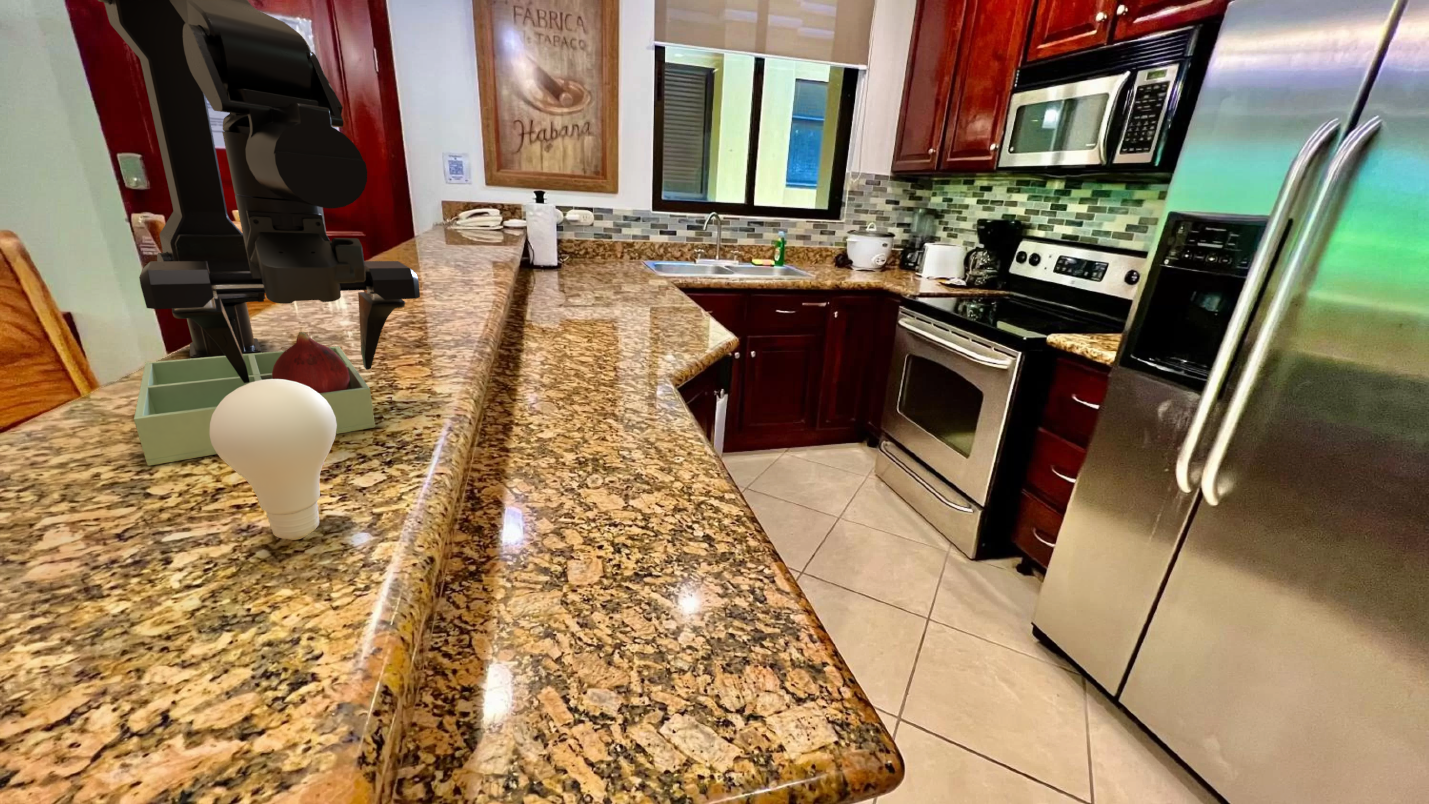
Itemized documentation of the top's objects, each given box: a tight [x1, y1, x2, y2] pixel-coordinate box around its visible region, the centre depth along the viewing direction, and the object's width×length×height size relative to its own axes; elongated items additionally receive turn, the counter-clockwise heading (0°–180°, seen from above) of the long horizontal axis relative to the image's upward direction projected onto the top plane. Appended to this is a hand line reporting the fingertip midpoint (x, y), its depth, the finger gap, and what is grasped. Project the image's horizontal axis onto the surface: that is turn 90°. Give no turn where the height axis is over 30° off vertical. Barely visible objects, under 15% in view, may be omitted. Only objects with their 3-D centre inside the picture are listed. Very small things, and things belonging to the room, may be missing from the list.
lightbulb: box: [210, 379, 337, 541], centre depth 35 cm, size 6×6×11 cm
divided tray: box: [133, 345, 376, 467], centre depth 52 cm, size 16×16×4 cm
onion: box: [272, 331, 350, 393], centre depth 51 cm, size 6×6×8 cm
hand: (310, 374), depth 51 cm, fingers open, 9 cm apart
